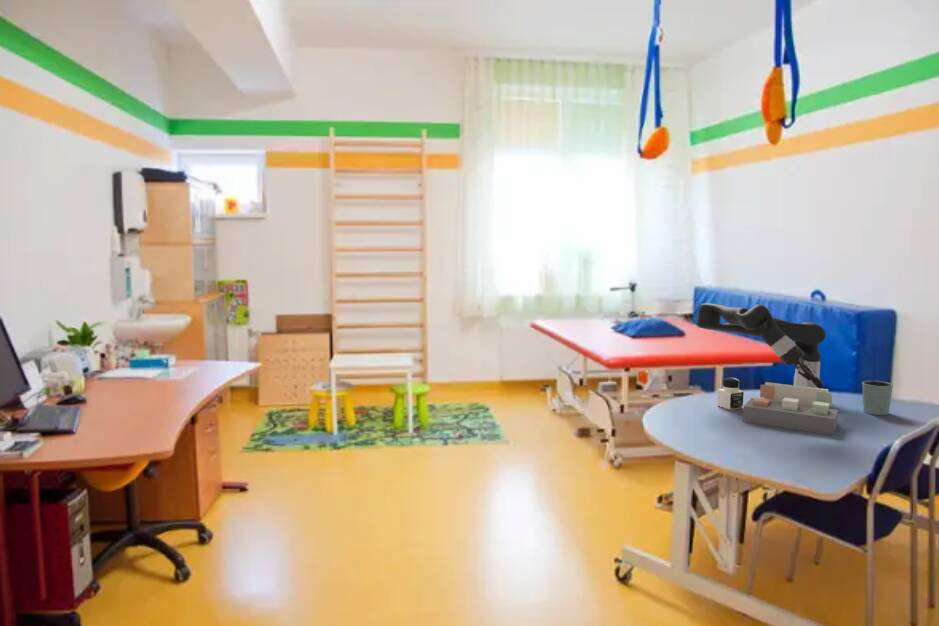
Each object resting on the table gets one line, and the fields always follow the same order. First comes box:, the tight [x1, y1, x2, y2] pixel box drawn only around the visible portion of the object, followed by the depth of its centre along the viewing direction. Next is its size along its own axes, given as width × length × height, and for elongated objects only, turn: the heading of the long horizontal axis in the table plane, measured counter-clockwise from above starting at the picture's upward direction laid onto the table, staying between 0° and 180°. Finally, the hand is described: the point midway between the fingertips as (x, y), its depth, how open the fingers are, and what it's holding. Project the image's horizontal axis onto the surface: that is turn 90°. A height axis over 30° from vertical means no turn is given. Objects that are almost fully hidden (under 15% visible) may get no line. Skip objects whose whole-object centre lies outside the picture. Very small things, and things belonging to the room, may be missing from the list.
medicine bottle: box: [716, 377, 745, 411], centre depth 265 cm, size 7×7×12 cm
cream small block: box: [782, 398, 799, 411], centre depth 242 cm, size 5×5×4 cm
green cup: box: [861, 380, 893, 416], centre depth 256 cm, size 10×10×12 cm
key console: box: [742, 381, 839, 436], centre depth 244 cm, size 30×19×12 cm, turn 55°
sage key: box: [812, 401, 830, 415], centre depth 237 cm, size 5×5×4 cm
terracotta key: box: [753, 397, 770, 407], centre depth 248 cm, size 5×5×4 cm
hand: (821, 386), depth 236 cm, fingers closed
